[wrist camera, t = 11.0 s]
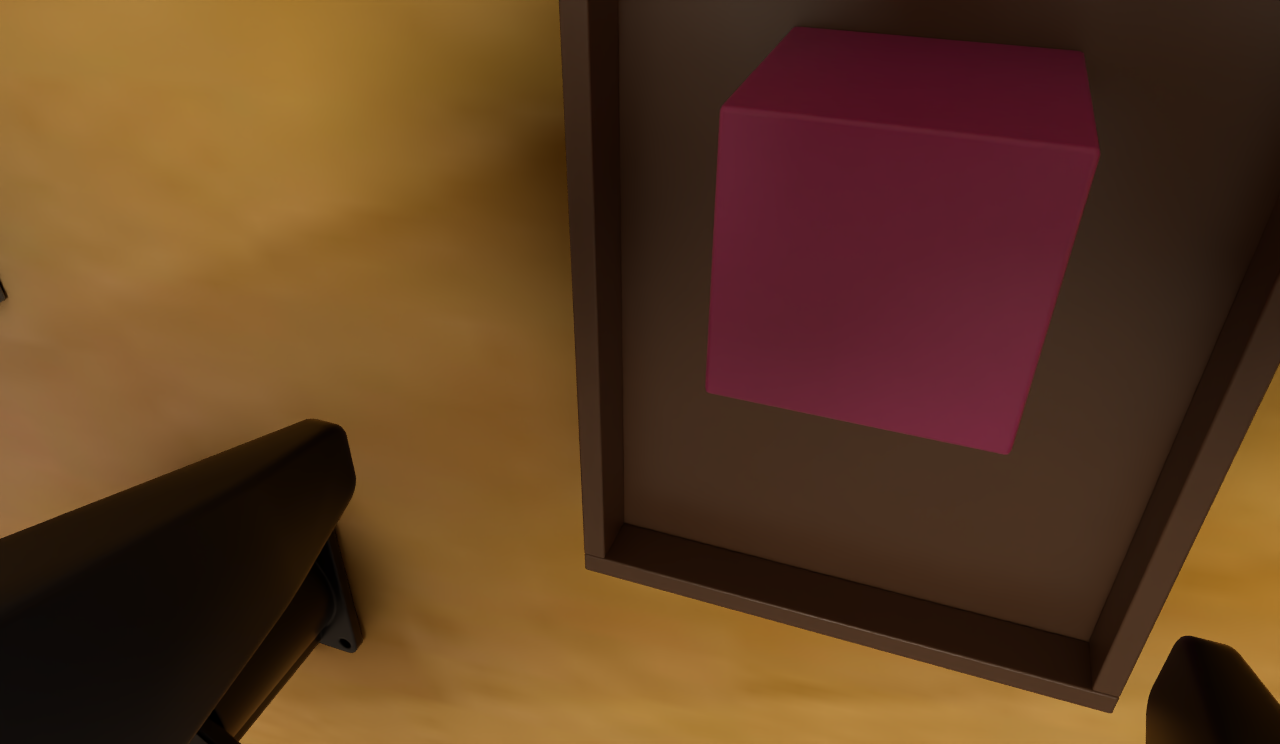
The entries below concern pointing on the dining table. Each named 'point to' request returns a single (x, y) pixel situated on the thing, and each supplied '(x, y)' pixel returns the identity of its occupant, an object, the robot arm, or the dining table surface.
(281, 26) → the dining table surface
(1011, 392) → the top block
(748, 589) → the tray
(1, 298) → the base block
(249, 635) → the robot arm
